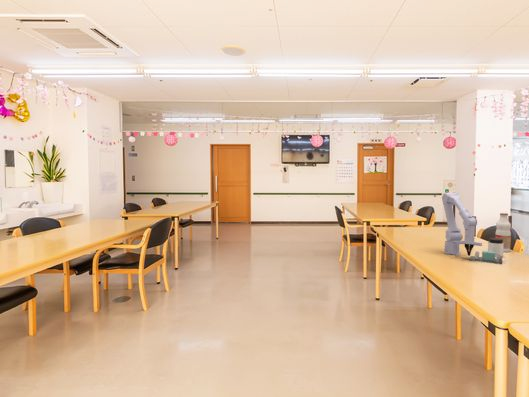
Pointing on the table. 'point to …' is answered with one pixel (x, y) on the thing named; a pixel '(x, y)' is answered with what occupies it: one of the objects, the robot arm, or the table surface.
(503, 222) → the fruit juice
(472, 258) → the vise
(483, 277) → the table surface
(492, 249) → the jar
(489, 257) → the block
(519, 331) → the table surface
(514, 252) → the table surface
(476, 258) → the jaw
